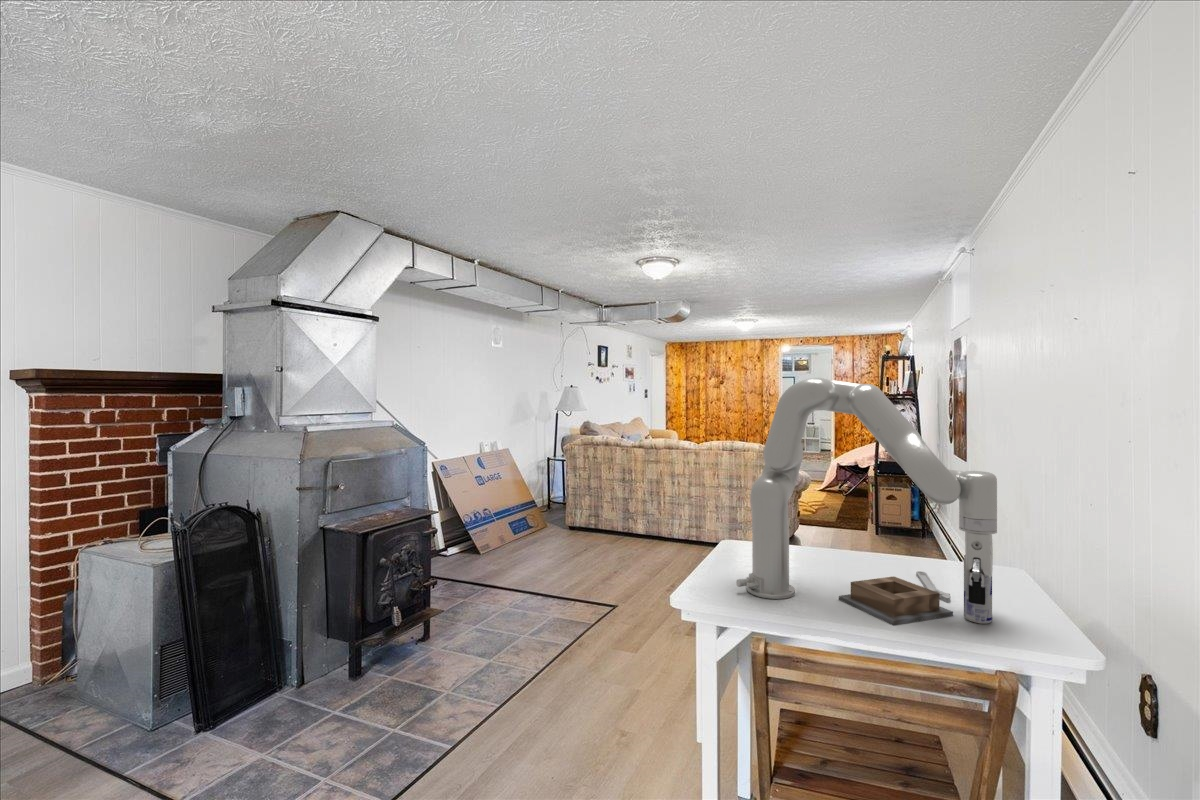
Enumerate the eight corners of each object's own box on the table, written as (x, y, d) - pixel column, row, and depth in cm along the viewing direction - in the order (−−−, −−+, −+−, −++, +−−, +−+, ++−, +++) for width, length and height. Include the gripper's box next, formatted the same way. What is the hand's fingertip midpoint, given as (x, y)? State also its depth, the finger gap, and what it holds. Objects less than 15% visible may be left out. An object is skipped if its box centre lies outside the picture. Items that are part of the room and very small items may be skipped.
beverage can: (998, 624, 136) (998, 559, 136) (975, 625, 136) (975, 560, 135) (980, 615, 142) (980, 553, 142) (958, 616, 141) (958, 553, 141)
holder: (893, 625, 136) (893, 603, 136) (838, 599, 153) (838, 580, 153) (953, 615, 141) (953, 594, 141) (894, 592, 159) (894, 573, 159)
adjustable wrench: (915, 576, 174) (915, 570, 174) (940, 578, 172) (940, 572, 172) (923, 602, 151) (924, 595, 151) (952, 606, 149) (953, 599, 149)
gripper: (996, 533, 129) (996, 611, 129) (997, 519, 143) (998, 590, 144) (956, 529, 133) (956, 605, 134) (961, 516, 148) (961, 584, 148)
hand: (977, 597), depth 139 cm, fingers open, 9 cm apart
